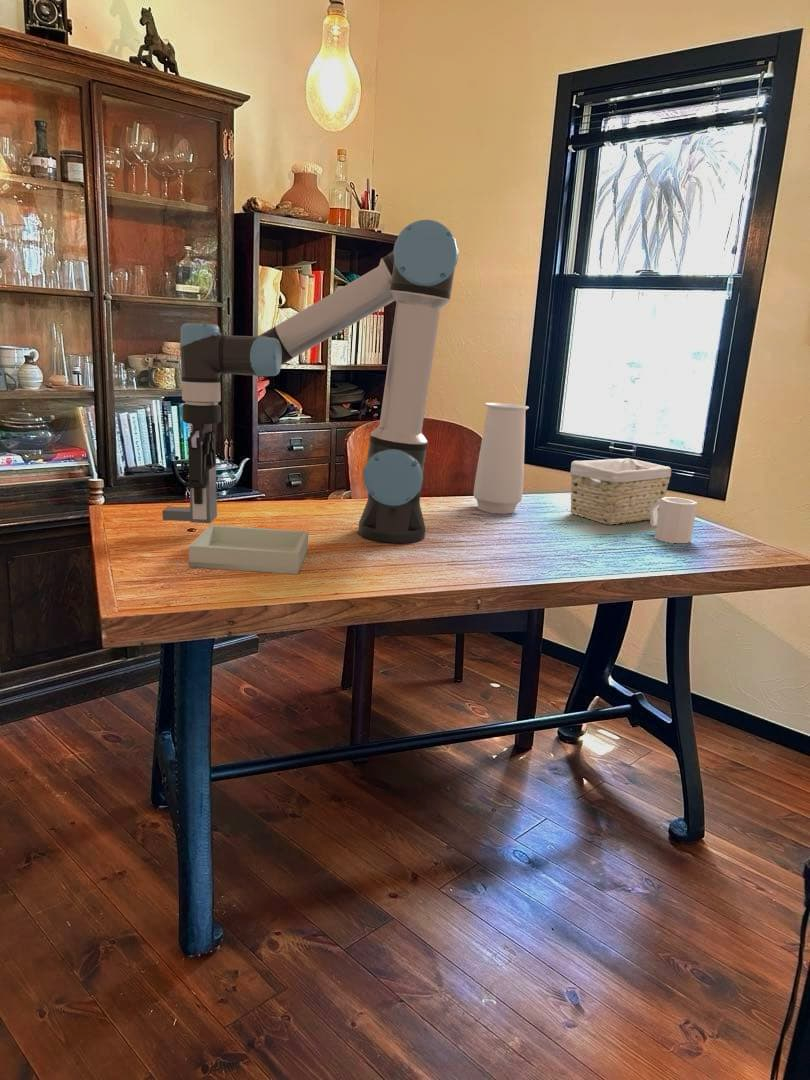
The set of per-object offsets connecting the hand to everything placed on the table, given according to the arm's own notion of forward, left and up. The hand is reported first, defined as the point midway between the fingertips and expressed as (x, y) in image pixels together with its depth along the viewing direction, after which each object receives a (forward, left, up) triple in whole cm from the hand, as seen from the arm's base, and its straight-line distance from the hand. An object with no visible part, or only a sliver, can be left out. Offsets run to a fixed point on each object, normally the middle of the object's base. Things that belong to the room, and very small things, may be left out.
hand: (203, 514), depth 160 cm
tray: (-12, +13, -5) cm, 19 cm away
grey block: (+3, 0, -1) cm, 3 cm away
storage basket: (-100, -48, -5) cm, 111 cm away
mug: (-107, -27, -5) cm, 111 cm away
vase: (-67, -46, -5) cm, 82 cm away
